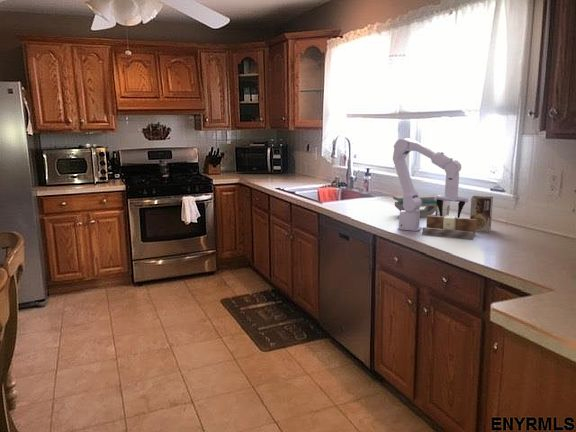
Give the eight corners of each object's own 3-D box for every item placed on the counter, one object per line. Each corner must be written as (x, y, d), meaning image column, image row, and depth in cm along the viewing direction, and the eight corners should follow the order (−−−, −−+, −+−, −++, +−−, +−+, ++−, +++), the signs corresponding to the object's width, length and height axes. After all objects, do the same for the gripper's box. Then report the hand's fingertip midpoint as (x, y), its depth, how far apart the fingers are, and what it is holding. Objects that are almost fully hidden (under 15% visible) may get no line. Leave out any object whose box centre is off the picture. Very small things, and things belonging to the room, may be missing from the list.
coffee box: (491, 229, 227) (493, 196, 224) (489, 232, 222) (491, 198, 219) (471, 227, 232) (473, 195, 229) (468, 230, 227) (471, 197, 223)
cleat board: (421, 234, 219) (422, 219, 217) (426, 229, 229) (427, 215, 227) (472, 239, 209) (473, 224, 207) (475, 234, 219) (476, 219, 217)
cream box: (442, 232, 217) (443, 218, 216) (445, 229, 223) (445, 215, 222) (452, 233, 215) (453, 218, 214) (455, 230, 221) (456, 216, 220)
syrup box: (437, 221, 246) (438, 194, 243) (449, 222, 243) (450, 195, 240) (434, 223, 241) (436, 195, 238) (446, 225, 238) (448, 196, 235)
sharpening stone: (434, 213, 267) (435, 194, 264) (441, 216, 259) (442, 196, 257) (392, 215, 263) (393, 196, 261) (397, 218, 256) (398, 198, 254)
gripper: (433, 187, 215) (432, 216, 218) (467, 189, 209) (465, 219, 211) (436, 185, 221) (435, 214, 224) (469, 187, 215) (467, 216, 217)
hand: (449, 216), depth 218 cm, fingers open, 7 cm apart
